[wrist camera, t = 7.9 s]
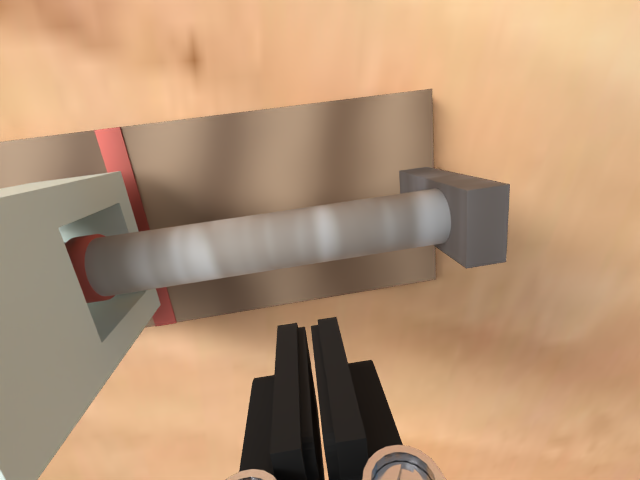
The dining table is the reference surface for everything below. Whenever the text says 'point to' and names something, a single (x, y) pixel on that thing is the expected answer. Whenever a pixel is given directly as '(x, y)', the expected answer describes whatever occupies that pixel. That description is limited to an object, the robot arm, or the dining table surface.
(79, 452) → the dining table surface
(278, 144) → the rod stand
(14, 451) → the sleeve block
